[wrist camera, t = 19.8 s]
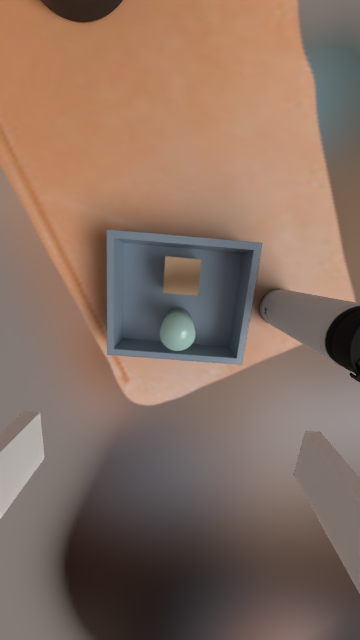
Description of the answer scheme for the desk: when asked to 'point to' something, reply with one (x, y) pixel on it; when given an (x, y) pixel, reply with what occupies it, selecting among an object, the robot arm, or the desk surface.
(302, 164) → the desk surface
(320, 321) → the travel mug
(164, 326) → the teal cylinder
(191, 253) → the tote
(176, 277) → the walnut cube
